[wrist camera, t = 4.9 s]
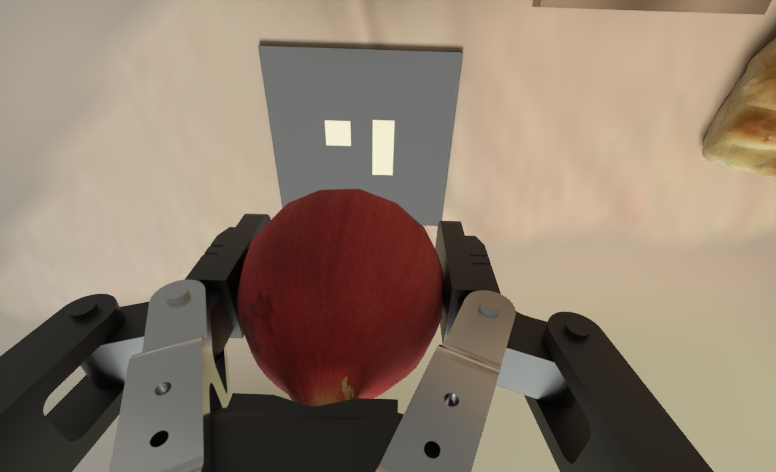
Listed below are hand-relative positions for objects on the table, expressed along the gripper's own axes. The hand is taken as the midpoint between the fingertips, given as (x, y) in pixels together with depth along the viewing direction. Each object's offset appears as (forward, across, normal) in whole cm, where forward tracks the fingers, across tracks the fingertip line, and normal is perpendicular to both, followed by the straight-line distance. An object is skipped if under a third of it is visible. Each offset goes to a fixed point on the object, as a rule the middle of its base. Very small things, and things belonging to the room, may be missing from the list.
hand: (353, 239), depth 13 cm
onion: (+1, 0, 0) cm, 1 cm away
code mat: (+9, 0, 0) cm, 9 cm away
